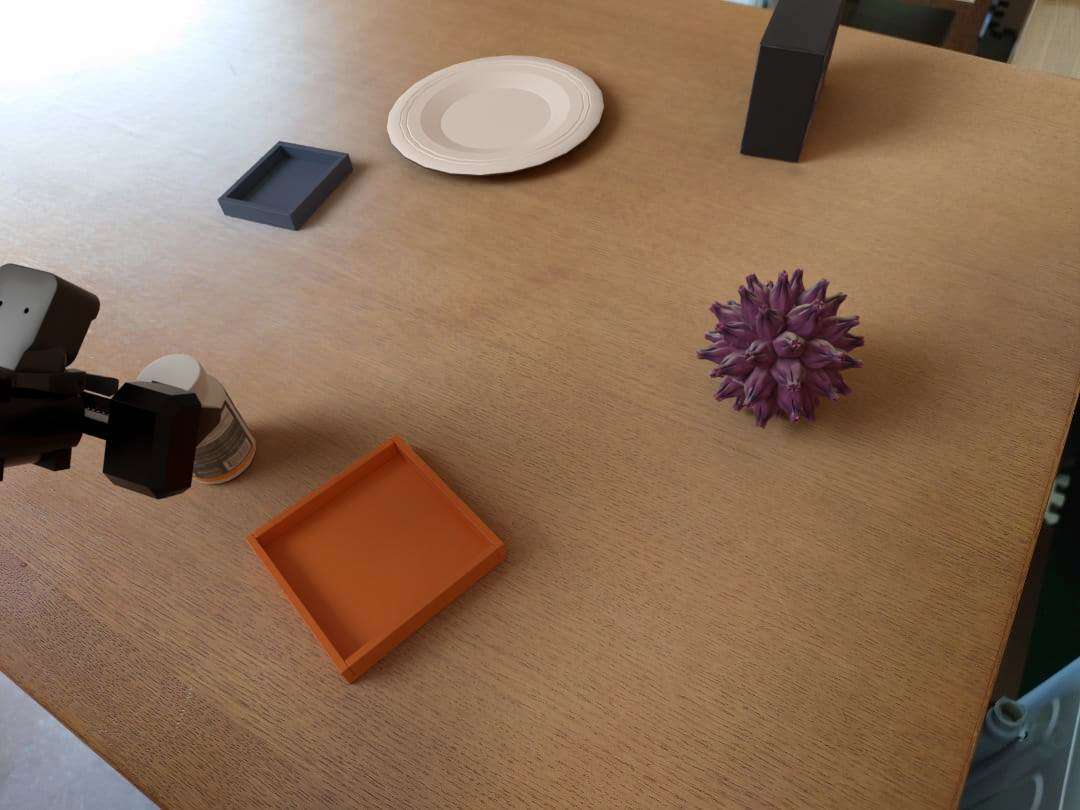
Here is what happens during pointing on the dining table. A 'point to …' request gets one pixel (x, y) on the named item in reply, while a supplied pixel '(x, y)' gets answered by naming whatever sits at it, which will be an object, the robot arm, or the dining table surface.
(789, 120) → the box
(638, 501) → the dining table surface
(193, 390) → the pill bottle
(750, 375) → the flower
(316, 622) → the orange tray
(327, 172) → the blue tray
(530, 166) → the plate
